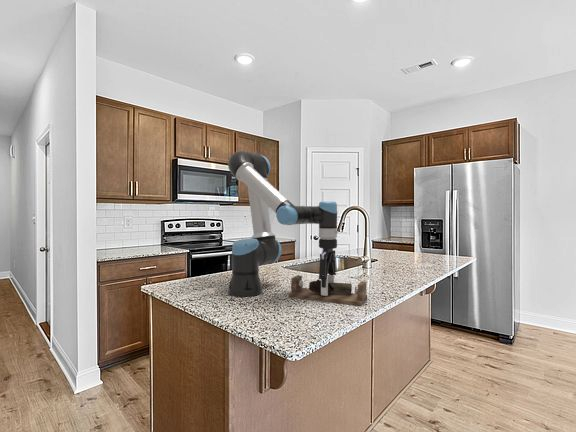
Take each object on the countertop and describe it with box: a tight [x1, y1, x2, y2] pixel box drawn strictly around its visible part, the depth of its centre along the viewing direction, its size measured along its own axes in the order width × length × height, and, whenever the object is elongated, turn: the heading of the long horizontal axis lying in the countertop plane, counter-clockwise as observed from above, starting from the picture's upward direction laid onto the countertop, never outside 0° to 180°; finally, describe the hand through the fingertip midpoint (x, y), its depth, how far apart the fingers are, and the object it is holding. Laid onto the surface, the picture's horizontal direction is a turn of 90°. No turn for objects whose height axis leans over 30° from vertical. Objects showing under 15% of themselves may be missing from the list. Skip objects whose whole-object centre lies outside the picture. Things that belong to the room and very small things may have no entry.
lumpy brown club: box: [308, 279, 353, 294], centre depth 135 cm, size 18×7×6 cm, turn 83°
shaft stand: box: [288, 274, 368, 307], centre depth 135 cm, size 30×12×8 cm, turn 65°
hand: (327, 292), depth 135 cm, fingers closed on lumpy brown club, 8 cm apart
